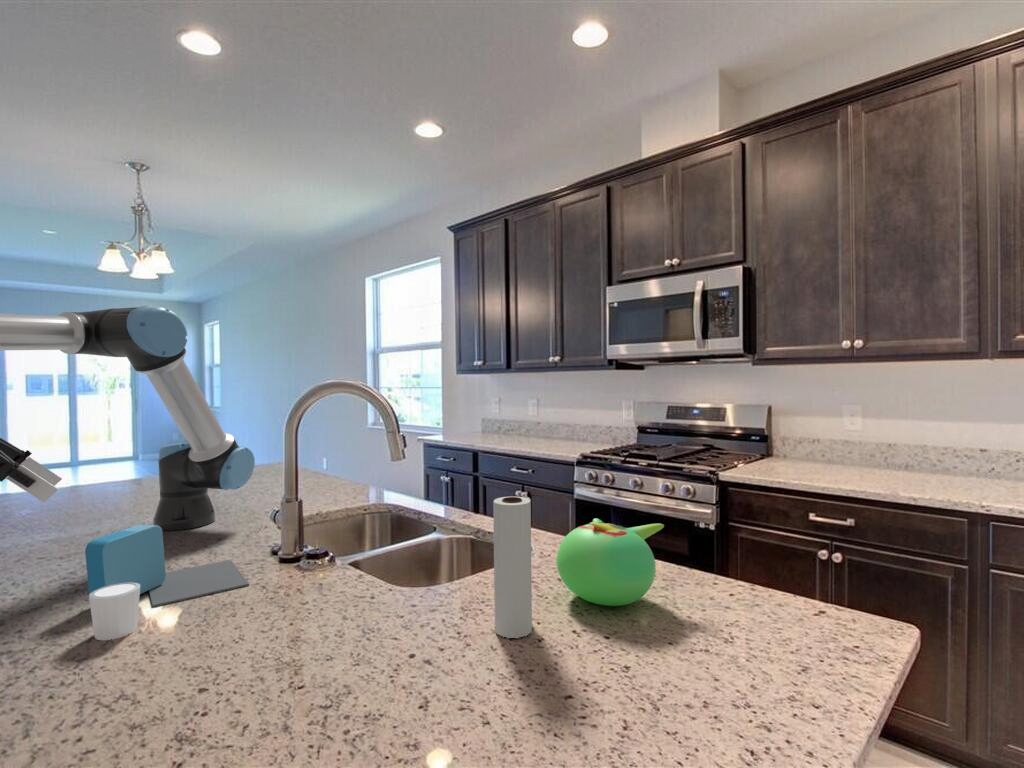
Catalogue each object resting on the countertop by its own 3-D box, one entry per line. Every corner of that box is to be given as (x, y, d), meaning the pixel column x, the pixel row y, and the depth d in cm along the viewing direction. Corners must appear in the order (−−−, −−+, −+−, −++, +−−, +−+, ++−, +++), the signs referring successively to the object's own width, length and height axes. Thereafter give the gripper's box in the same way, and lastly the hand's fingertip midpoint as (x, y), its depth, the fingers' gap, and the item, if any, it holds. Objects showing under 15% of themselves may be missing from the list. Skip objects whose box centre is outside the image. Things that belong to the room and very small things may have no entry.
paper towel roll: (505, 643, 84) (503, 505, 83) (488, 627, 89) (487, 497, 89) (545, 632, 87) (544, 499, 87) (527, 618, 93) (525, 492, 92)
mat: (152, 607, 99) (152, 605, 99) (145, 578, 113) (145, 576, 113) (248, 585, 108) (248, 583, 108) (230, 561, 123) (230, 559, 123)
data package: (149, 580, 110) (144, 522, 110) (166, 582, 109) (162, 523, 108) (89, 607, 99) (83, 542, 98) (108, 609, 98) (102, 543, 97)
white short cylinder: (150, 627, 91) (150, 585, 91) (105, 645, 85) (104, 601, 85) (125, 619, 94) (124, 579, 94) (80, 637, 88) (79, 594, 87)
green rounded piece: (539, 600, 100) (538, 520, 99) (592, 574, 112) (591, 503, 112) (625, 631, 87) (625, 540, 87) (674, 598, 100) (674, 519, 100)
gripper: (-78, 420, 95) (39, 495, 105) (-121, 430, 76) (27, 521, 86) (-37, 389, 99) (74, 465, 108) (-68, 391, 80) (70, 483, 89)
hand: (53, 490), depth 97 cm, fingers open, 12 cm apart
